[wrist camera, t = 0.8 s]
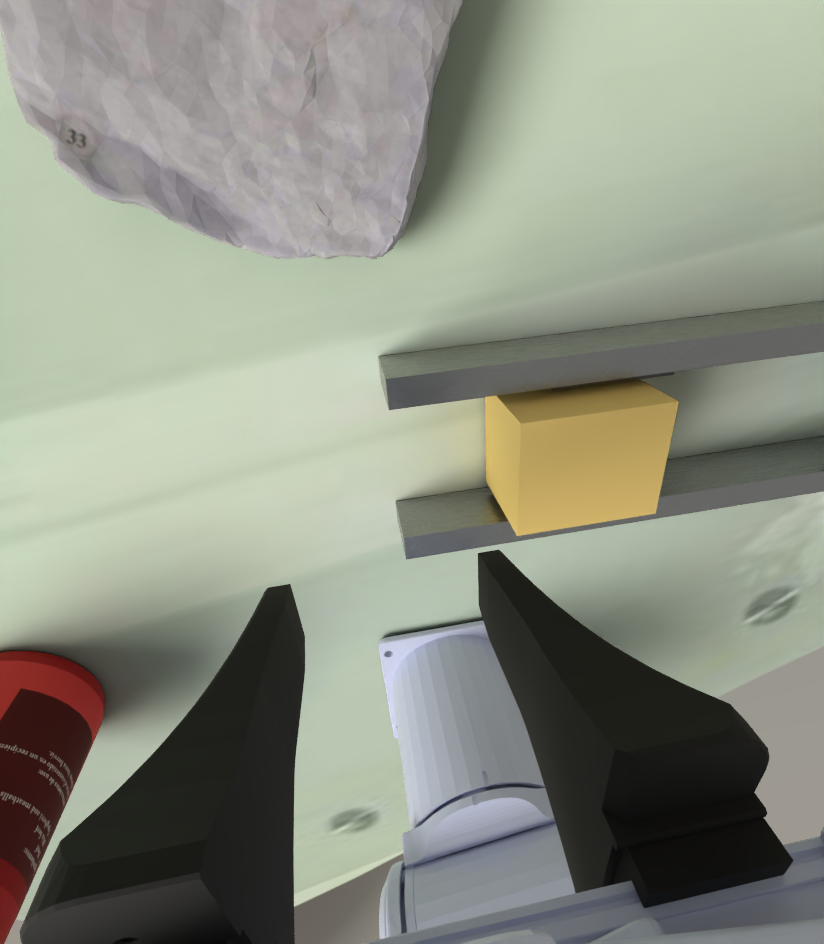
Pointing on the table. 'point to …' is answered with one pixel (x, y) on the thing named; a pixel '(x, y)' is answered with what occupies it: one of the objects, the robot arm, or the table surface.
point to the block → (578, 453)
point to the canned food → (38, 760)
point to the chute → (600, 362)
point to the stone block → (239, 111)
